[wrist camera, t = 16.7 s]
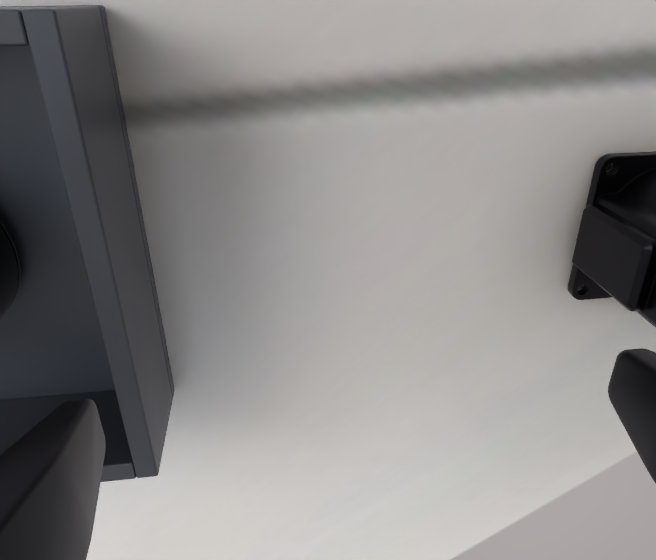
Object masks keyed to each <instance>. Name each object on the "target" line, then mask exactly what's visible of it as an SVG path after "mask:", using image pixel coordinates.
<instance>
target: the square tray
mask: <svg viewBox="0 0 656 560" xmlns="http://www.w3.org/2000/svg"><path fill="white" fill-rule="evenodd" d="M0 219H1V220H2V221H3V223H4V224H5V226H6V227H7V229H8V230H9V232H10V234H11V236H12V238H13V240H14V243H15V245H16V248H17V252H18V256H19V261H20V284H19V288H18V292H17V295H16V297H15V299H14V301H13V303H12V305H11V306H10V308H9V309H8V310H7V312H6V313H5V314H4V316H3V317H2V318H1V320H0V455H1V454H2V453H3V452H4V451H5V450H7V449H8V448H9V447H10V446H11V445H13V444H14V443H15V442H16V441H18V440H19V439H20V438H21V437H22V436H24V435H25V434H26V433H27V432H28V431H30V430H31V429H32V428H33V427H34V426H36V425H37V424H38V423H39V422H40V421H42V420H43V419H44V418H45V417H46V416H48V415H49V414H50V413H51V412H52V411H54V410H55V409H56V408H57V407H58V406H60V405H61V404H62V403H64V402H65V401H69V400H79V399H91V400H93V401H94V403H95V404H96V407H97V410H98V414H99V418H100V421H101V425H102V428H103V432H104V436H105V445H106V446H105V456H104V462H103V468H102V474H101V481H100V482H104V481H114V480H123V479H133V478H136V476H137V477H138V478H141V477H150V476H157V475H158V472H159V467H160V462H161V456H162V451H163V446H164V441H165V436H166V431H167V425H168V420H169V415H170V410H171V405H172V398H173V395H174V386H173V380H172V375H171V369H170V364H169V359H168V353H167V348H166V342H165V337H164V331H163V326H162V320H161V315H160V309H159V304H158V298H157V293H156V287H155V282H154V277H153V271H152V266H151V260H150V255H149V249H148V244H147V238H146V233H145V227H144V222H143V216H142V211H141V206H140V200H139V195H138V189H137V184H136V178H135V173H134V167H133V162H132V156H131V151H130V145H129V140H128V135H127V129H126V124H125V118H124V113H123V107H122V102H121V96H120V91H119V85H118V80H117V74H116V69H115V64H114V58H113V53H112V47H111V42H110V36H109V31H108V25H107V20H106V14H105V9H104V6H102V5H85V6H16V7H0Z"/></svg>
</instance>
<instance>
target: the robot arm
mask: <svg viewBox="0 0 656 560" xmlns="http://www.w3.org/2000/svg"><path fill="white" fill-rule="evenodd" d="M611 163H612V168H611V169H610V170H609V171H608V172H606V168H607V166H608V165H609V164H611ZM572 262H573V266H572V271H571V275H570V280H569V284H568V291H569V293H570V294H571V295H572V296H573V297H574V298H576V299H579V300H584V299H597V298H610V297H613V298H615V299H616V300H617V301H618V302H619V303H621V304H622V305H623V306H624V307H625V308H627V309H628V310H629V311H636V312H637V313H639V314H640V315H641V316H642V317H644V318H645V319H646V320H647V321H648V322H650V323H651V324H652V325H653V326H655V327H656V152H640V153H619V154H607V155H604V156H602V157H601V158H600V159H599V160H598V161H597V163H596V165H595V168H594V172H593V177H592V181H591V186H590V190H589V195H588V199H587V204H586V208H585V209H584V211H583V215H582V219H581V224H580V228H579V233H578V237H577V242H576V246H575V251H574V255H573V260H572ZM582 285H584V286H583V288H582V289H581V290H578V289H579V287H581V286H582ZM608 393H609V398H610V401H611V403H612V405H613V407H614V408H615V410H616V412H617V414H618V416H619V418H620V420H621V422H622V423H623V425H624V427H625V429H626V431H627V433H628V435H629V437H630V438H631V440H632V442H633V444H634V446H635V448H636V450H637V452H638V454H639V455H640V457H641V459H642V461H643V463H644V465H645V466H646V468H647V470H648V472H649V473H650V475H651V477H652V478H653V480H654V481H655V483H656V353H655V352H652V351H650V350H647V349H632V350H624V351H622V352H620V353H619V355H618V356H617V359H616V362H615V366H614V369H613V372H612V376H611V379H610V383H609V387H608ZM105 446H106V445H105V436H104V432H103V428H102V425H101V421H100V418H99V414H98V410H97V407H96V404H95V403H94V401H93V400H91V399H79V400H69V401H65V402H64V403H62V404H61V405H60V406H58V407H57V408H56V409H55V410H54V411H52V412H51V413H50V414H49V415H48V416H46V417H45V418H44V419H43V420H42V421H40V422H39V423H38V424H37V425H36V426H34V427H33V428H32V429H31V430H30V431H28V432H27V433H26V434H25V435H24V436H22V437H21V438H20V439H19V440H18V441H16V442H15V443H14V444H13V445H11V446H10V447H9V448H8V449H7V450H5V451H4V452H3V453H2V454H1V455H0V560H86V557H87V553H88V549H89V545H90V541H91V535H92V530H93V524H94V518H95V512H96V506H97V499H98V493H99V487H100V481H101V474H102V468H103V462H104V456H105Z"/></svg>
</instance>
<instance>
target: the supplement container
mask: <svg viewBox="0 0 656 560" xmlns="http://www.w3.org/2000/svg"><path fill="white" fill-rule="evenodd" d="M19 284H20V261H19V256H18V252H17V248H16V245H15V243H14V240H13V238H12V236H11V234H10V232H9V230H8V229H7V227H6V226H5V224H4V223H3V221H2V220H1V219H0V320H1V318H2V317H3V316H4V314H5V313H6V312H7V310H8V309H9V308H10V306H11V305H12V303H13V301H14V299H15V297H16V295H17V292H18V288H19Z"/></svg>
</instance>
